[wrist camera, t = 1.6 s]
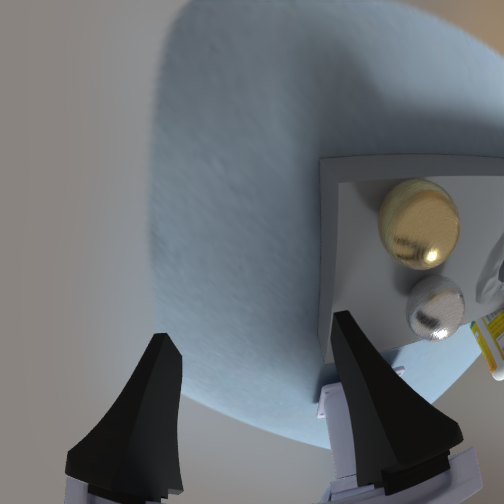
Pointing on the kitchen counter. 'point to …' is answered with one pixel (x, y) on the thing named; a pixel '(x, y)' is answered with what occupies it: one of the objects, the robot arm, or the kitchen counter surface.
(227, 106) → the kitchen counter surface
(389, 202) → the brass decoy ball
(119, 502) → the robot arm
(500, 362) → the supplement bottle
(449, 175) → the plate
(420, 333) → the steel ball
